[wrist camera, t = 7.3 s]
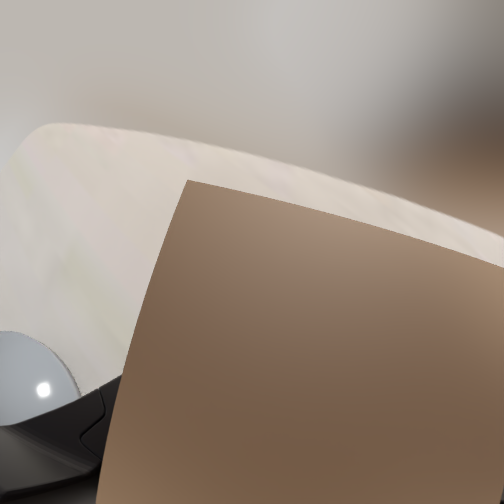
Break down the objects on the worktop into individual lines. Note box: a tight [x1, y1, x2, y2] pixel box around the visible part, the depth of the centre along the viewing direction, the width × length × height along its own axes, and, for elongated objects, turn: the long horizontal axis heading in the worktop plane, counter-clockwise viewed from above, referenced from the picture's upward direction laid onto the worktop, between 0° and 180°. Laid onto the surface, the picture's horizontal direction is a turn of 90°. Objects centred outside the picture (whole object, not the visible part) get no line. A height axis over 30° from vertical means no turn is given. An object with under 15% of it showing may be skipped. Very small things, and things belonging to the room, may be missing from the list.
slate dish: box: [0, 331, 81, 426], centre depth 13 cm, size 10×10×1 cm
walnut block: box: [96, 180, 504, 504], centre depth 8 cm, size 5×5×13 cm
